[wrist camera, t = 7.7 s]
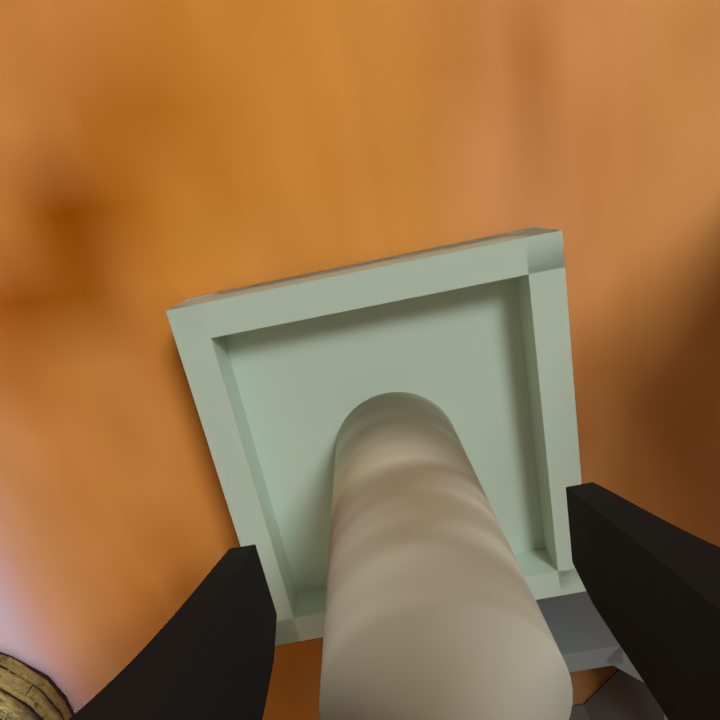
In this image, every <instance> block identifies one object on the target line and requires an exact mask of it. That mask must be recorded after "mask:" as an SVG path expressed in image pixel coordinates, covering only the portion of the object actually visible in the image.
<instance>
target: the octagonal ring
mask: <svg viewBox="0 0 720 720" xmlns="http://www.w3.org/2000/svg"><path fill="white" fill-rule="evenodd" d="M536 602H537V604H538V606H539V608H540V610H541V613H542V615H543V617H544V619H545V621H546V623H547V625H548V627H549V629H550V632H551V634H552V636H553V638H554V640H555V642H556V644H557V646H558V648H559V650H560V653H561V655H562V657H563V659H564V661H565V663H566V665H567V668H568V671H569V673H570V672H576V671H582V670H588V669H594V668H600V667H606V666H612V665H613V666H615V667H617V668H619V670H618V671H617V672H616V673H615V674H614V675H613V676H612V677H611V678H610V679H609V680H608V681H607V682H606V683H605V684H604V685H603V686H602V687H601V688H600V689H599V690H598V691H597V692H596V693H595V694H594V695H593V696H592V697H591V698H590V699H589V700H588V701H587V702H586V703H584V704H583V705H577V706H572V709H571V715H570V718H569V720H668V719H667V717H666V716H665V714H664V712H663V711H662V709H661V707H660V706H659V704H658V703H657V701H656V699H655V698H654V696H653V695H652V693H651V692H650V690H649V689H648V687H647V686H646V684H645V683H644V681H643V680H642V678H641V677H640V675H639V674H638V672H637V671H636V669H635V668H634V666H633V665H632V663H631V661H630V660H629V658H628V657H627V655H626V654H625V652H624V651H623V649H622V648H621V646H620V645H619V643H618V642H617V640H616V639H615V637H614V636H613V634H612V633H611V631H610V629H609V628H608V626H607V625H606V623H605V622H604V620H603V619H602V617H601V616H600V614H599V612H598V611H597V609H596V608H595V606H594V605H593V603H592V601H591V599H590V597H589V595H588V593H587V591H584V592H578V593H573V594H567V595H561V596H556V597H550V598H544V599H538V600H536Z"/></svg>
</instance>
